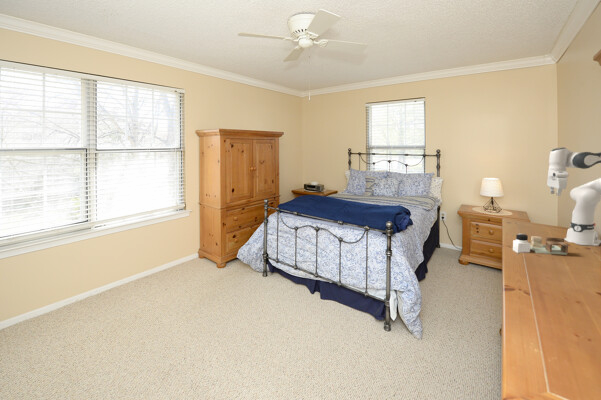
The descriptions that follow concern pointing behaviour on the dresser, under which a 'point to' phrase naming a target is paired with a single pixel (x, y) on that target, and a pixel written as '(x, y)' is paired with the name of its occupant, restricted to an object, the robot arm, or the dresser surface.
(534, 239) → the block
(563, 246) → the brown wooden piece
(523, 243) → the medicine bottle
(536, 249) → the board
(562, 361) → the dresser surface
